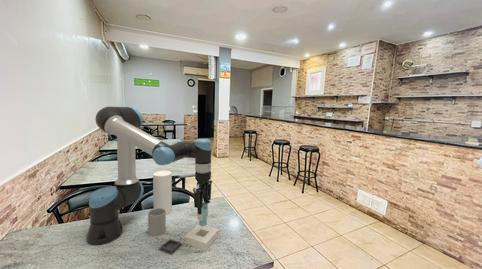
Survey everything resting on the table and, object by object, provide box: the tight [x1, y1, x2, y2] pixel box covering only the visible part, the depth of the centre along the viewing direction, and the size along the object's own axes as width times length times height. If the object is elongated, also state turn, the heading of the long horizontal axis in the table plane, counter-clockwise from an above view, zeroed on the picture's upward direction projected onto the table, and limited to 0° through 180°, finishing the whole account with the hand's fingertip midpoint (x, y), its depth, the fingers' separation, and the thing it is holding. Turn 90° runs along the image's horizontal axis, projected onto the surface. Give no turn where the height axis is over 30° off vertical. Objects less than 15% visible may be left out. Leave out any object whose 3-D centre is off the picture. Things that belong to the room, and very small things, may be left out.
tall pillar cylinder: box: [152, 170, 173, 216], centre depth 126 cm, size 11×11×25 cm
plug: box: [198, 203, 208, 226], centre depth 99 cm, size 4×4×10 cm
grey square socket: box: [157, 238, 184, 256], centre depth 94 cm, size 8×8×2 cm
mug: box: [147, 208, 167, 236], centre depth 107 cm, size 12×8×11 cm
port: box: [184, 223, 220, 251], centre depth 100 cm, size 12×12×4 cm
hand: (202, 217), depth 99 cm, fingers closed on plug, 4 cm apart
